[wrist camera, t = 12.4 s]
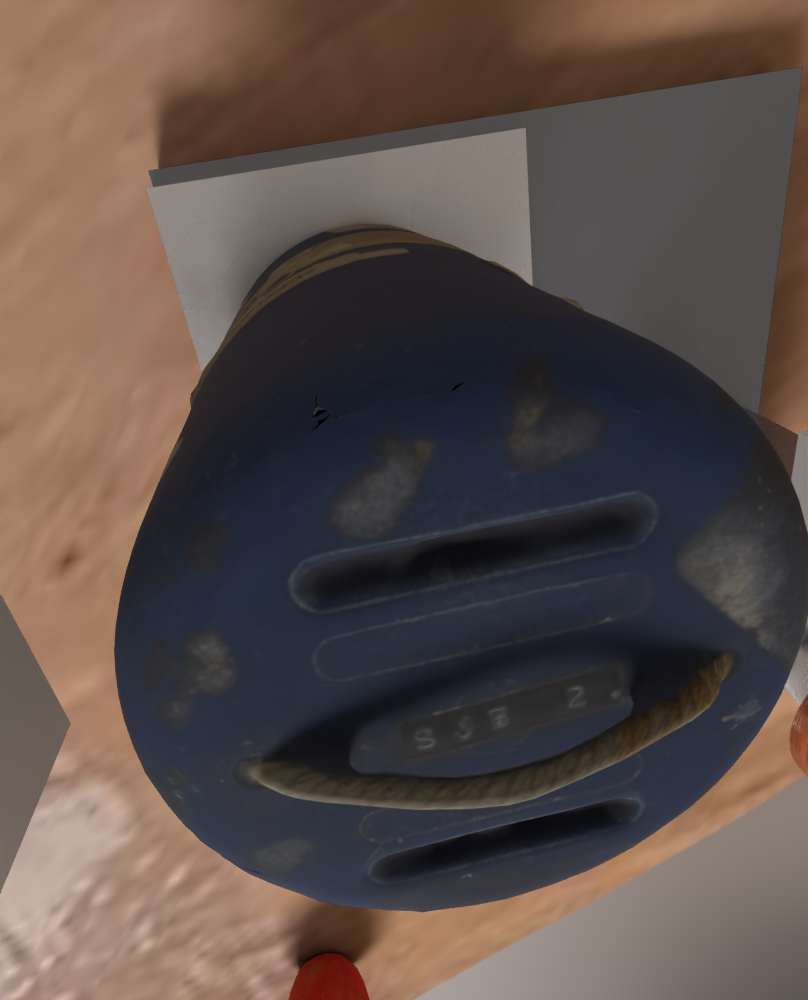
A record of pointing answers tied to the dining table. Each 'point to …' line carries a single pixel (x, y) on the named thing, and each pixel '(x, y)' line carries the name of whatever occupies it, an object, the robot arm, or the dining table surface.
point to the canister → (450, 583)
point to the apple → (328, 980)
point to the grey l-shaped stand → (535, 214)
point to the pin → (804, 688)
